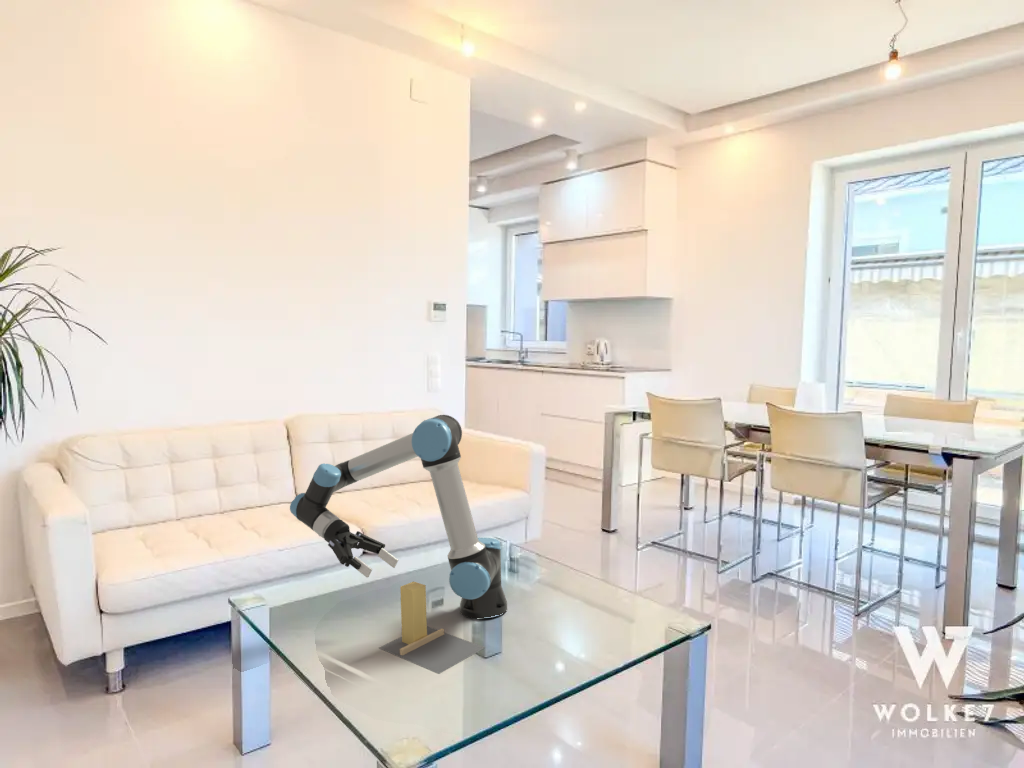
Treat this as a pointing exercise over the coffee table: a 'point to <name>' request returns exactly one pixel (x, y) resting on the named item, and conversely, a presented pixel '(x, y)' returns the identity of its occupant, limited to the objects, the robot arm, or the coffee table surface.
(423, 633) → the mustard block
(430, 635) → the tipping mat
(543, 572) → the coffee table surface
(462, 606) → the robot arm
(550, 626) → the coffee table surface
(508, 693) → the coffee table surface
